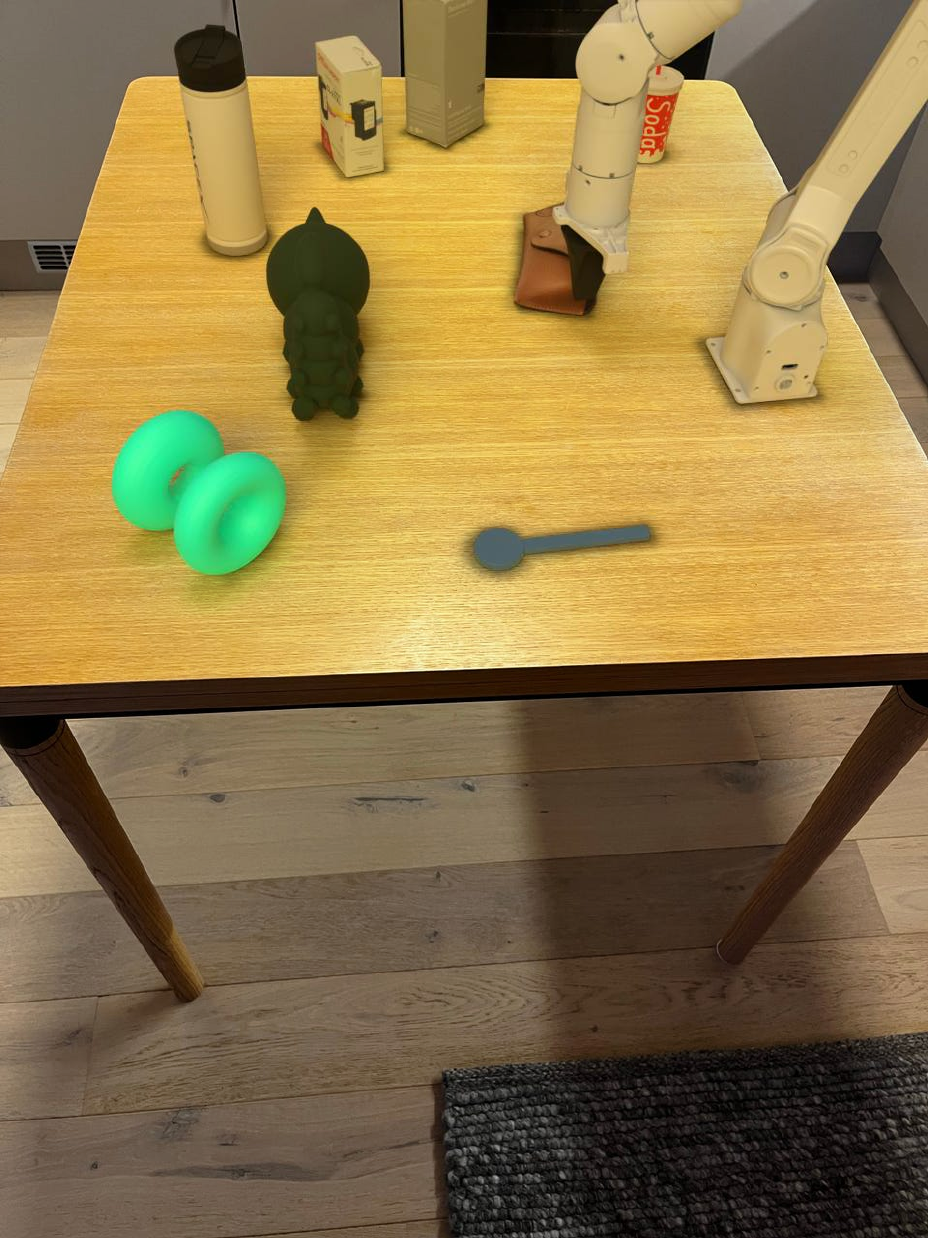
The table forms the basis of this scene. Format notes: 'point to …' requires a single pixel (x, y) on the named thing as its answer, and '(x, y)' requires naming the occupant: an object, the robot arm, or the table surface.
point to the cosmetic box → (444, 67)
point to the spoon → (545, 544)
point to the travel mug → (222, 139)
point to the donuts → (199, 491)
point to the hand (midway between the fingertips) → (584, 297)
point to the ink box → (350, 105)
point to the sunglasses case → (547, 268)
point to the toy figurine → (320, 314)
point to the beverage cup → (659, 112)
